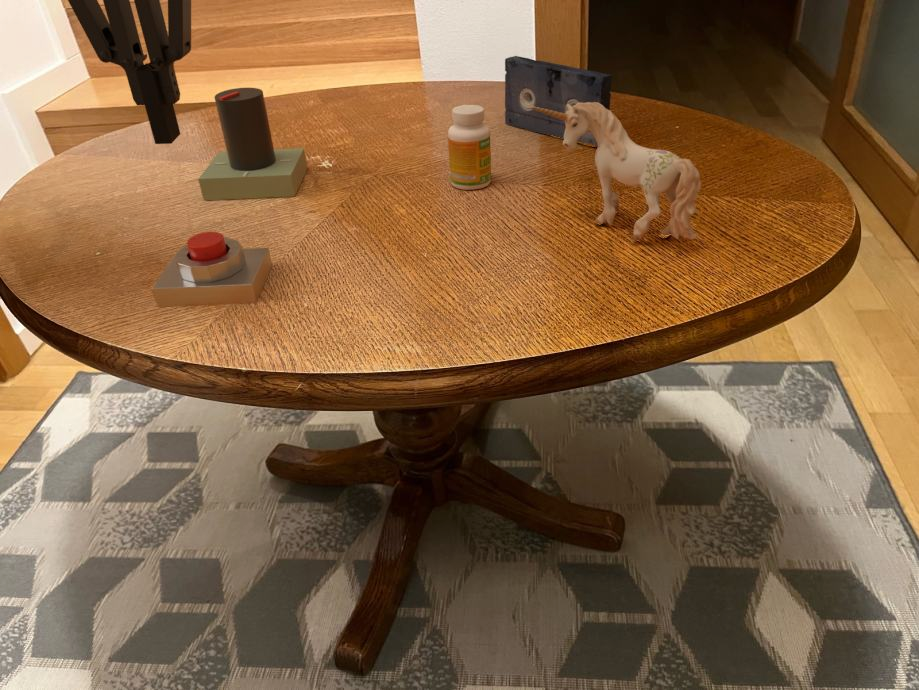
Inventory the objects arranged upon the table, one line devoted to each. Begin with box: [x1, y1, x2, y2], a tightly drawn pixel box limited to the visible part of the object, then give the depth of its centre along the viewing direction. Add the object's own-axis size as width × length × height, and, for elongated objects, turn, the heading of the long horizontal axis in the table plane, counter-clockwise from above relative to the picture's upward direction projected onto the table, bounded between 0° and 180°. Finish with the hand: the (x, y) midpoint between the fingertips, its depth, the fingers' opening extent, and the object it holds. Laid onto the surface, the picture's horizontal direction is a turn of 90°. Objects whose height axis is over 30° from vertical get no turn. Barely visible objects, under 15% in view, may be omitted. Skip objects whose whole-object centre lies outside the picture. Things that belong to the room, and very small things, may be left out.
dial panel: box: [197, 147, 308, 201], centre depth 99 cm, size 12×10×3 cm
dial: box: [214, 87, 276, 171], centre depth 95 cm, size 6×6×9 cm
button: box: [186, 231, 227, 261], centre depth 74 cm, size 4×4×2 cm
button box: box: [151, 236, 273, 308], centre depth 75 cm, size 10×8×4 cm
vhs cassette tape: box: [504, 55, 613, 146], centre depth 108 cm, size 18×3×10 cm, turn 42°
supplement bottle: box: [447, 104, 492, 191], centre depth 94 cm, size 5×5×10 cm
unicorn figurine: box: [531, 102, 702, 242], centre depth 80 cm, size 7×20×13 cm, turn 56°
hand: (168, 138), depth 68 cm, fingers closed
